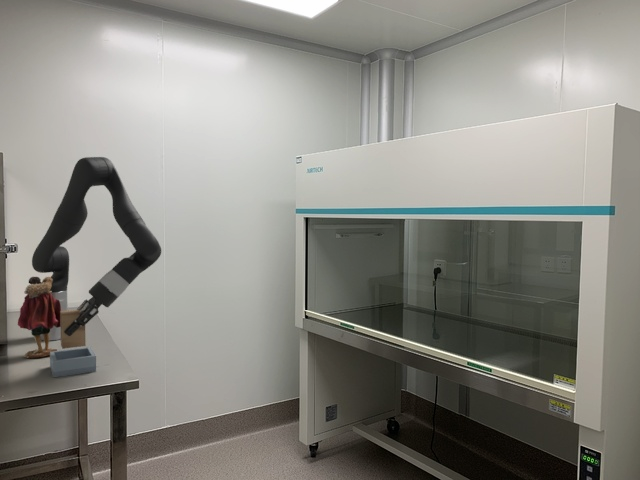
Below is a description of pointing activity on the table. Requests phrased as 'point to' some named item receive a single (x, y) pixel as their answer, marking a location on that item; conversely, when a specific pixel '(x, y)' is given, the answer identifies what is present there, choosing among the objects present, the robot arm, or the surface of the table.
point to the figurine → (39, 313)
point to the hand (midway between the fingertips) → (65, 331)
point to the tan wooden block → (78, 336)
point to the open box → (72, 361)
